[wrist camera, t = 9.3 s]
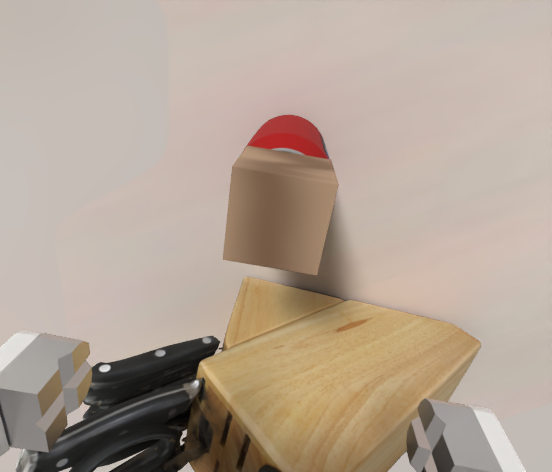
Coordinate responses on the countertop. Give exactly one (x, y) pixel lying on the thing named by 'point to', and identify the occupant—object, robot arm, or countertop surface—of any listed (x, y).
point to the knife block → (269, 391)
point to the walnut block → (279, 209)
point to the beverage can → (290, 137)
